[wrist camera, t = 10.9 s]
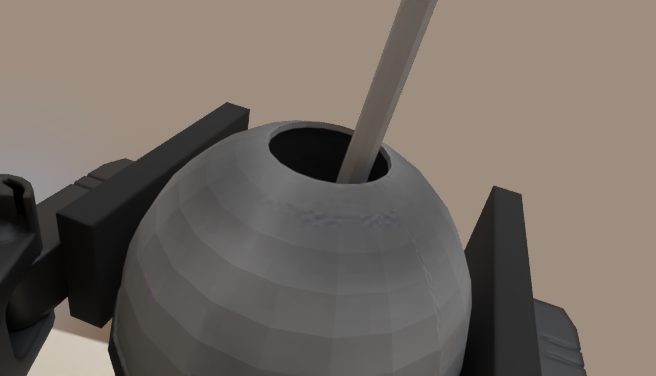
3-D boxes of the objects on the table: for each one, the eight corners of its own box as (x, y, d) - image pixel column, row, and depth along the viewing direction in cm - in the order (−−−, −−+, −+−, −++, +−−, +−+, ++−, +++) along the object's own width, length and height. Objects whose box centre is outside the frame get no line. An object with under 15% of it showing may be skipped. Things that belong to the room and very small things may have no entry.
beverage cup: (120, 472, 17) (57, -249, 7) (303, 415, 20) (457, -132, 10) (142, 760, 12) (-4, -603, 1) (385, 622, 15) (915, -94, 4)
